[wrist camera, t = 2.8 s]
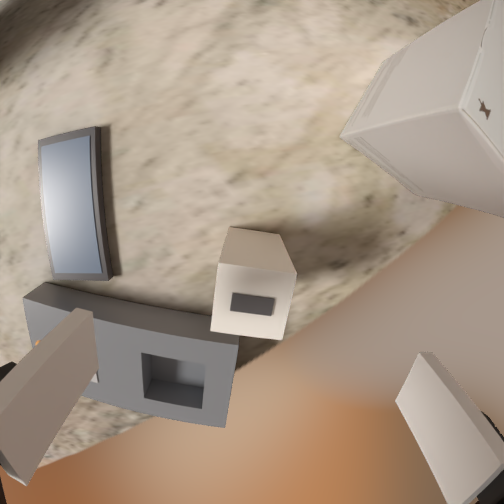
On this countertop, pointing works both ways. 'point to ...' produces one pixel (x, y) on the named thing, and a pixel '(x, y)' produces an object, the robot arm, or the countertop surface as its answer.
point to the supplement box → (441, 112)
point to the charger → (253, 285)
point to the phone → (74, 205)
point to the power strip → (146, 354)
